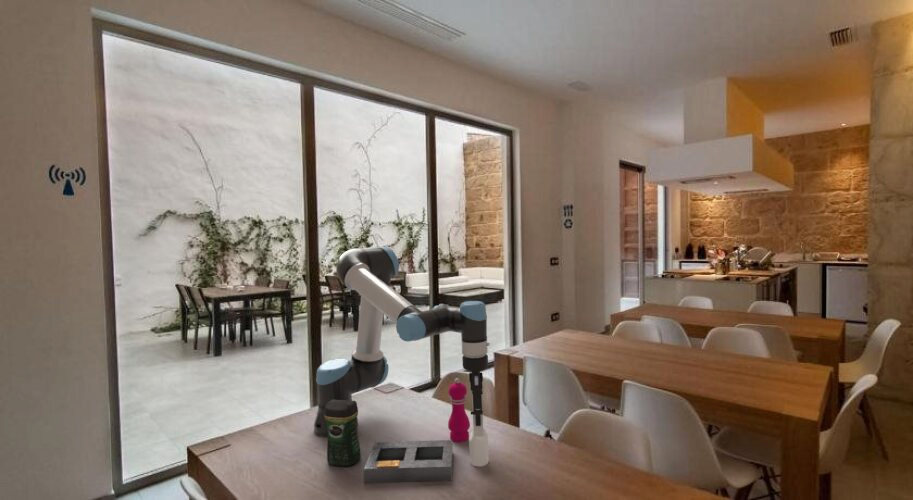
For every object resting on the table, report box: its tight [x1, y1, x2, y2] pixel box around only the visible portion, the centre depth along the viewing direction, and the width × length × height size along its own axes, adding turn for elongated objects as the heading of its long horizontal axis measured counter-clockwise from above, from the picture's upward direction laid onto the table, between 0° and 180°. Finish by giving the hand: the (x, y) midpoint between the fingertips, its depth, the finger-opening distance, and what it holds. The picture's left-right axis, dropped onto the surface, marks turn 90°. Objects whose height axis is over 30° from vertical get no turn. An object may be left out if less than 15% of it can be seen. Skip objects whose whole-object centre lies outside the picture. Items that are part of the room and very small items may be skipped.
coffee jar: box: [325, 399, 362, 467], centre depth 141 cm, size 10×8×19 cm
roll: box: [468, 427, 490, 468], centre depth 137 cm, size 6×12×6 cm
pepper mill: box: [447, 377, 471, 443], centre depth 153 cm, size 7×7×20 cm
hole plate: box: [363, 439, 454, 484], centre depth 136 cm, size 16×24×4 cm, turn 89°
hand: (477, 425), depth 137 cm, fingers open, 13 cm apart
